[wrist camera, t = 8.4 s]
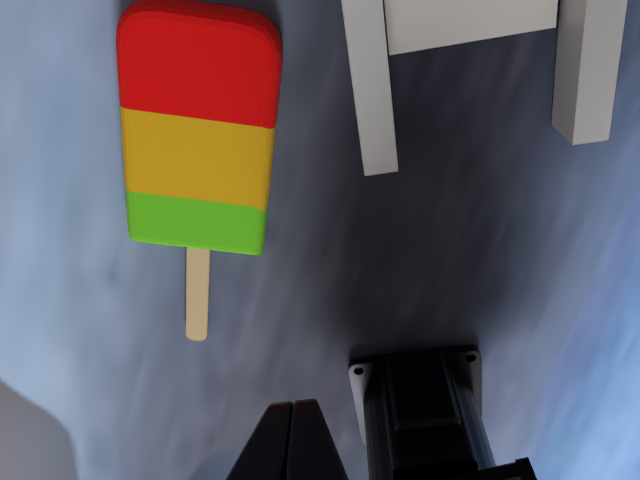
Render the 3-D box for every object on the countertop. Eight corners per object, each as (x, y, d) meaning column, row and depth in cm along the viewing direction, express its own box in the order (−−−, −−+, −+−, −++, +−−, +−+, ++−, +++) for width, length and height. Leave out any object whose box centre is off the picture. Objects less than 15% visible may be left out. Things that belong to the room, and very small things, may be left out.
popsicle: (288, 11, 18) (285, 22, 17) (256, 331, 26) (251, 359, 25) (126, -14, 18) (107, -5, 16) (143, 319, 26) (132, 347, 24)
